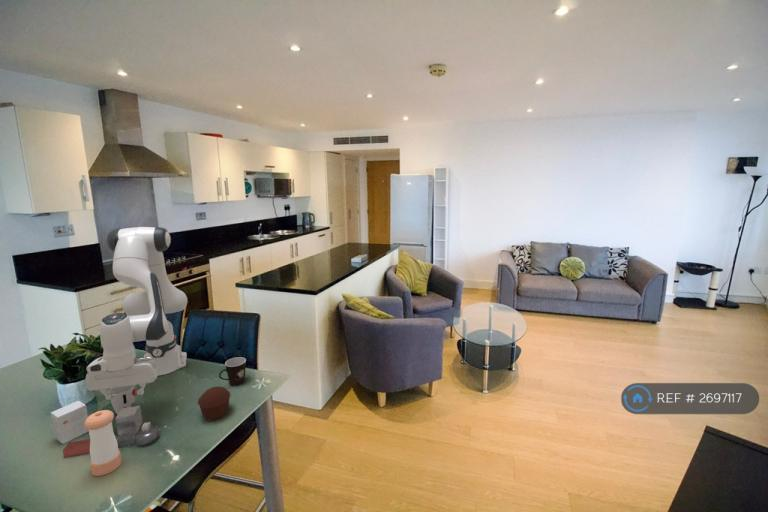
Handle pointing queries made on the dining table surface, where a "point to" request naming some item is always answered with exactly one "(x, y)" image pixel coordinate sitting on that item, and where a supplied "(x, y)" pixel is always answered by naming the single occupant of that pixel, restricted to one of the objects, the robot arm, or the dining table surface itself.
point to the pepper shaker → (102, 443)
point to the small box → (69, 421)
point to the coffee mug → (235, 371)
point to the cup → (123, 397)
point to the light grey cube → (129, 420)
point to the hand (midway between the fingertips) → (125, 396)
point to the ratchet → (118, 440)
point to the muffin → (214, 403)
